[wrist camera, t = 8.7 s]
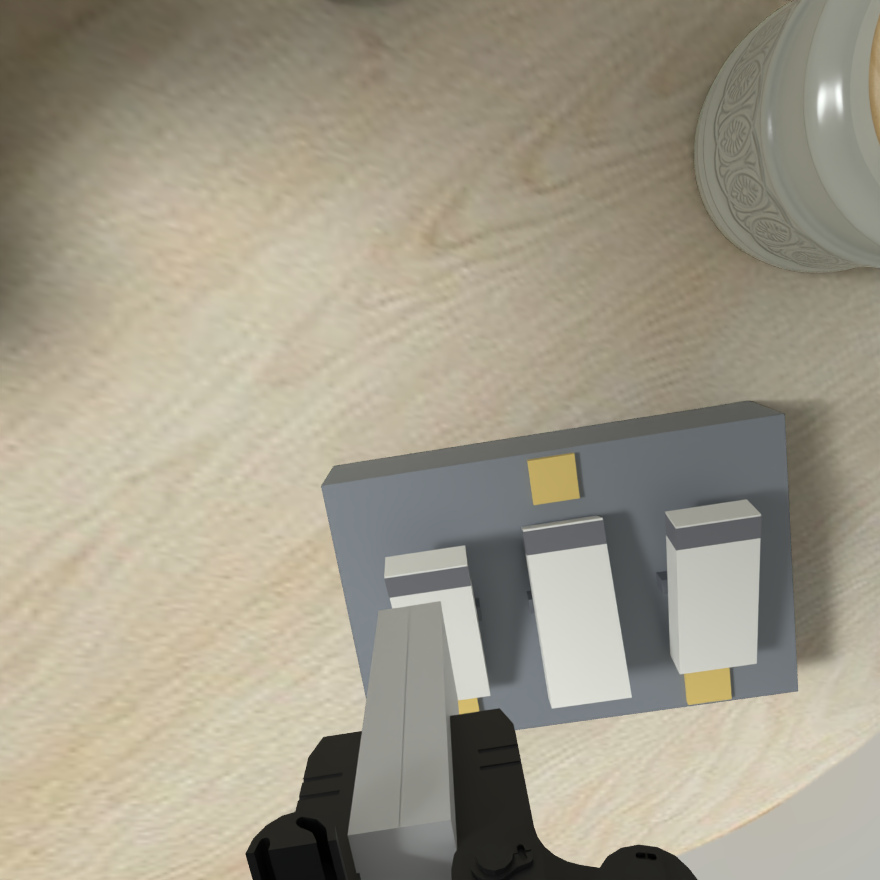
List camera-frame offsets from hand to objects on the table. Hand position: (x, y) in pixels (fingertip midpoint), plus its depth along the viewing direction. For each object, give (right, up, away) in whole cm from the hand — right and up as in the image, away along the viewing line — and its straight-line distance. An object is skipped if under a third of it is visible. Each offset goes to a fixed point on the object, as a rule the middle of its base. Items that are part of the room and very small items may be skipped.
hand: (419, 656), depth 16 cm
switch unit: (+7, -2, +24) cm, 25 cm away
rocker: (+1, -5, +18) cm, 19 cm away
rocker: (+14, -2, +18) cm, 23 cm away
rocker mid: (+7, -3, +18) cm, 20 cm away
